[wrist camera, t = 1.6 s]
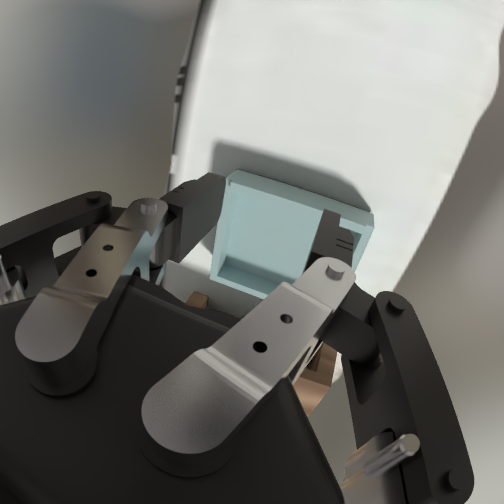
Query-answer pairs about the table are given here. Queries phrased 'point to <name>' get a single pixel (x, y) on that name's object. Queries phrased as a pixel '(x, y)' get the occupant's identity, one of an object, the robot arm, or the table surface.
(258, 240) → the light blue square tray
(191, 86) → the table surface
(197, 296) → the overhang shelf
